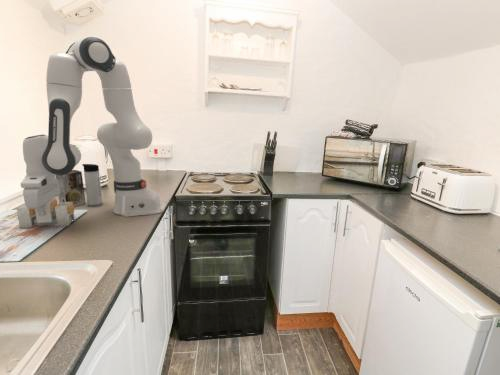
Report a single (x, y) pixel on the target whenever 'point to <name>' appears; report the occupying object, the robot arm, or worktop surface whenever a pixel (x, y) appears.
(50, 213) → the notched cream cube
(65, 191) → the coffee box
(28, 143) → the robot arm
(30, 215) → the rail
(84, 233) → the worktop surface
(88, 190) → the travel mug
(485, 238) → the worktop surface
